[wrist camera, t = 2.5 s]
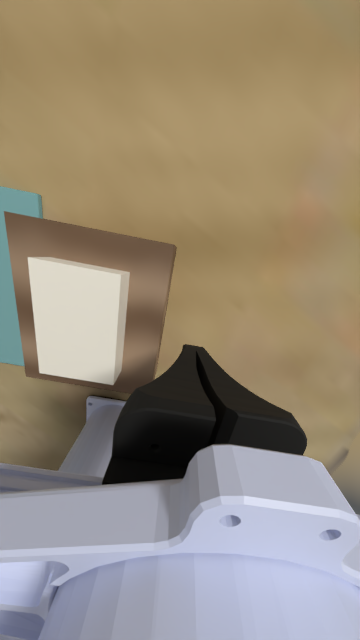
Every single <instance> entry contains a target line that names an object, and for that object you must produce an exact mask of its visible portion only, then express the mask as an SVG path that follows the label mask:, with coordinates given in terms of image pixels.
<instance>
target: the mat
mask: <svg viewBox="0 0 360 640" xmlns="http://www.w3.org/2000/svg"><path fill="white" fill-rule="evenodd" d="M4 211H6V212H11V213H16V214H21V215H26V216H31V217H36V218H41V219H43V216H42V202H41V195H39V194H35V193H30V192H25V191H20V190H15V189H11V188H6V187H1V186H0V362H2V363H8V364H14V365H21V366H24V358H23V351H22V343H21V336H20V328H19V321H18V314H17V306H16V299H15V291H14V284H13V277H12V269H11V262H10V254H9V247H8V239H7V232H6V225H5V217H4Z"/></svg>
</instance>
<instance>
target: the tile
mask: <svg viewBox="0 0 360 640" xmlns="http://www.w3.org/2000/svg"><path fill="white" fill-rule="evenodd" d="M28 267H29V277H30V286H31V296H32V306H33V315H34V325H35V335H36V345H37V354H38V364H39V373H42V374H48V375H54V376H60V377H67V378H73V379H79V380H85V381H91V382H97V383H103V384H109V385H114V383H115V381H116V380H117V378H118V376H119V374H120V372H121V370H122V359H123V347H124V335H125V323H126V312H127V300H128V288H129V276H130V272H126V271H121V270H115V269H110V268H105V267H100V266H94V265H89V264H84V263H79V262H73V261H68V260H63V259H58V258H52V257H28Z"/></svg>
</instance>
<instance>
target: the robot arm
mask: <svg viewBox="0 0 360 640" xmlns="http://www.w3.org/2000/svg"><path fill="white" fill-rule="evenodd" d="M306 446H307V438H306V435H305V433H304V431H303V430H302V428H301V427H300V425H299V424H298V422H297V421H296V419H295V418H294V417H293V415H292V414H291V413H289V412H287V411H285V410H283V409H281V408H279V407H277V406H275V405H273V404H271V403H269V402H267V401H266V400H264V399H262V398H260V397H259V396H257V395H255V394H254V393H252V392H250V391H249V390H248V389H246V388H245V387H243V386H242V385H240V384H239V383H238V382H236V381H235V380H234V379H233V378H232V377H230V376H229V375H228V374H227V373H226V372H225V371H224V370H223V369H222V368H221V367H220V366H219V365H218V364H217V363H216V362H215V361H214V360H213V358H212V357H211V356H210V355H209V354H208V353H207V351H206V350H205V349H204V348H203V347H198V346H192V345H187V344H185V345H183V349H182V352H181V354H180V356H179V357H178V359H177V360H176V361H175V363H174V364H173V365H172V366H171V367H170V368H169V369H168V370H167V371H166V372H165V373H163V374H162V375H161V376H160V377H158V378H157V379H155V380H153V381H152V382H150V383H148V384H146V385H143V386H141V387H138V388H136V389H135V390H134V392H133V393H132V394H131V396H130V397H129V399H128V400H127V401H121V400H115V399H108V398H102V397H96V396H89V397H88V398H87V400H86V424H85V426H84V427H83V429H82V431H81V432H80V434H79V436H78V438H77V439H76V441H75V443H74V444H73V446H72V448H71V449H70V451H69V453H68V454H67V456H66V458H65V459H64V461H63V463H62V465H61V466H60V468H59V470H58V471H54V470H47V469H40V468H33V467H26V466H20V465H13V464H6V463H0V640H360V515H357V514H355V513H354V511H353V509H352V508H351V506H350V505H349V503H348V502H347V500H346V499H345V498H344V496H343V494H342V493H341V491H340V490H339V488H338V487H337V485H336V484H335V482H334V481H333V479H332V478H331V476H330V475H329V473H328V472H327V470H326V469H325V467H324V466H323V464H322V463H321V462H319V461H316V460H314V459H311V458H308V457H306V456H303V453H304V451H305V449H306Z"/></svg>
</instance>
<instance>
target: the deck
mask: <svg viewBox="0 0 360 640" xmlns="http://www.w3.org/2000/svg"><path fill="white" fill-rule="evenodd" d="M4 217H5V225H6V232H7V239H8V247H9V254H10V262H11V269H12V277H13V284H14V291H15V299H16V306H17V314H18V321H19V328H20V336H21V343H22V351H23V358H24V366H25V373H26V377H32V378H39V379H45V380H51V381H57V382H63V383H69V384H75V385H82V386H88V387H94V388H100V389H106V390H112V391H118V392H125V393H131V394H132V393H133V392H134V390H135V389H136V388H138V387H141V386H143V385H146V384H148V383H150V382H152V381H153V380H154V379H155V374H156V370H157V364H158V358H159V352H160V345H161V339H162V333H163V327H164V321H165V315H166V309H167V303H168V297H169V291H170V285H171V279H172V273H173V266H174V260H175V254H176V246H175V245H173V244H168V243H162V242H157V241H152V240H147V239H142V238H137V237H132V236H127V235H122V234H117V233H112V232H107V231H102V230H97V229H92V228H87V227H82V226H77V225H72V224H67V223H62V222H57V221H52V220H47V219H41V218H36V217H31V216H26V215H21V214H16V213H11V212H6V211H4ZM28 257H52V258H58V259H63V260H68V261H73V262H79V263H84V264H89V265H94V266H100V267H105V268H110V269H115V270H121V271H126V272H130V276H129V288H128V300H127V312H126V323H125V335H124V347H123V359H122V370H121V372H120V374H119V376H118V378H117V380H116V381H115V383H114V385H109V384H103V383H97V382H91V381H85V380H79V379H73V378H67V377H60V376H54V375H48V374H42V373H39V364H38V354H37V345H36V335H35V325H34V315H33V306H32V296H31V286H30V277H29V267H28Z"/></svg>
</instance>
